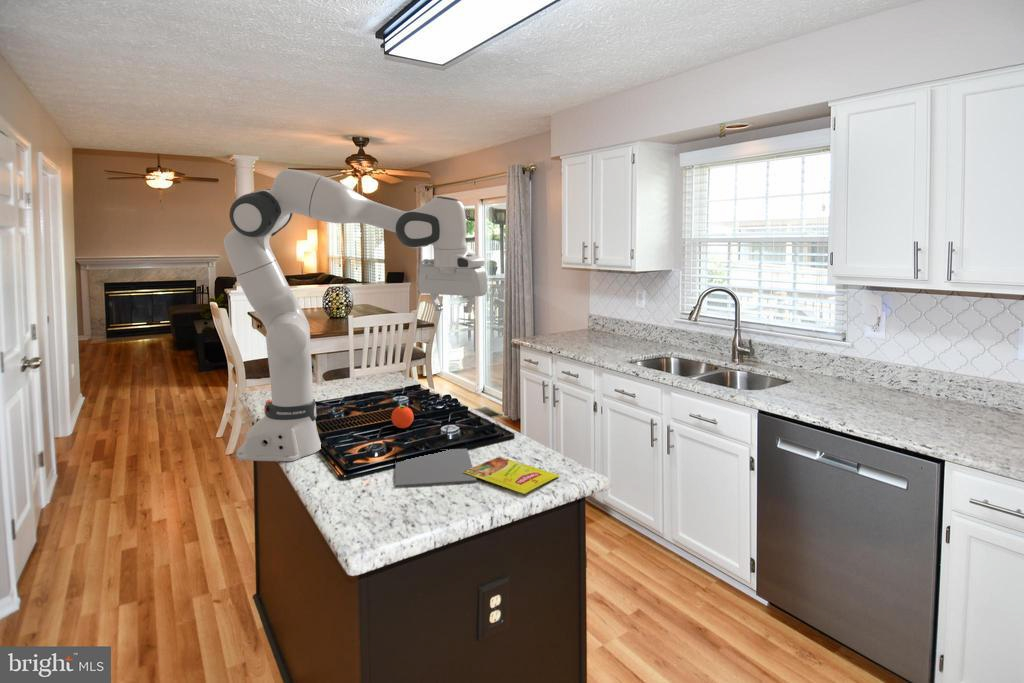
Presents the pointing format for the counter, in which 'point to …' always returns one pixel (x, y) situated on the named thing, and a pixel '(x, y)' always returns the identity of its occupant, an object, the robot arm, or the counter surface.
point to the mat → (435, 469)
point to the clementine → (402, 417)
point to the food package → (511, 474)
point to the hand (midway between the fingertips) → (453, 311)
